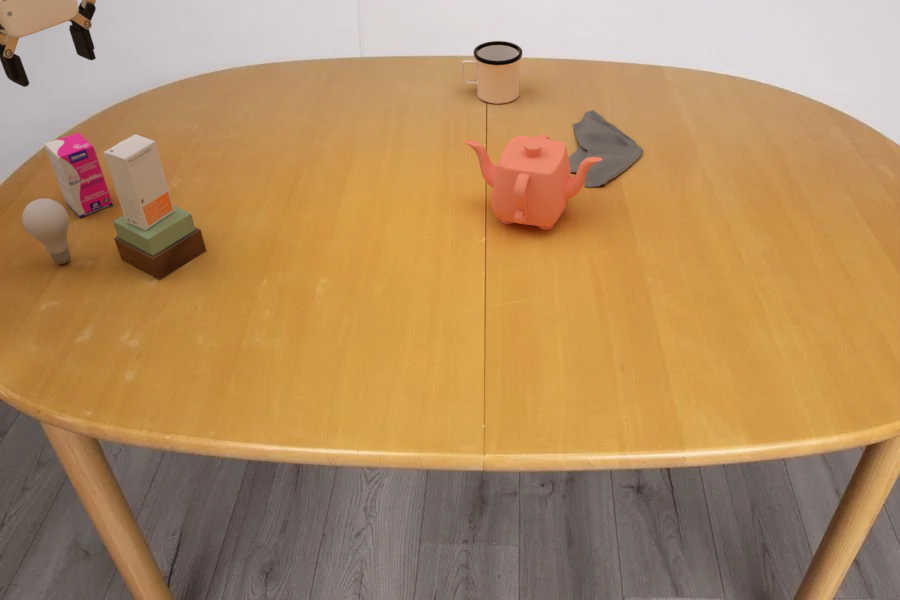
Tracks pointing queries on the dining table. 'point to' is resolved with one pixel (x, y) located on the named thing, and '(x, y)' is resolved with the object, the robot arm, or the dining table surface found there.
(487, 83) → the mug
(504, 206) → the teapot
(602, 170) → the cloth
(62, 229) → the lightbulb
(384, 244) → the dining table surface
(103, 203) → the supplement box
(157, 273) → the walnut block
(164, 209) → the cosmetic box
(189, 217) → the green block
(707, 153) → the dining table surface
